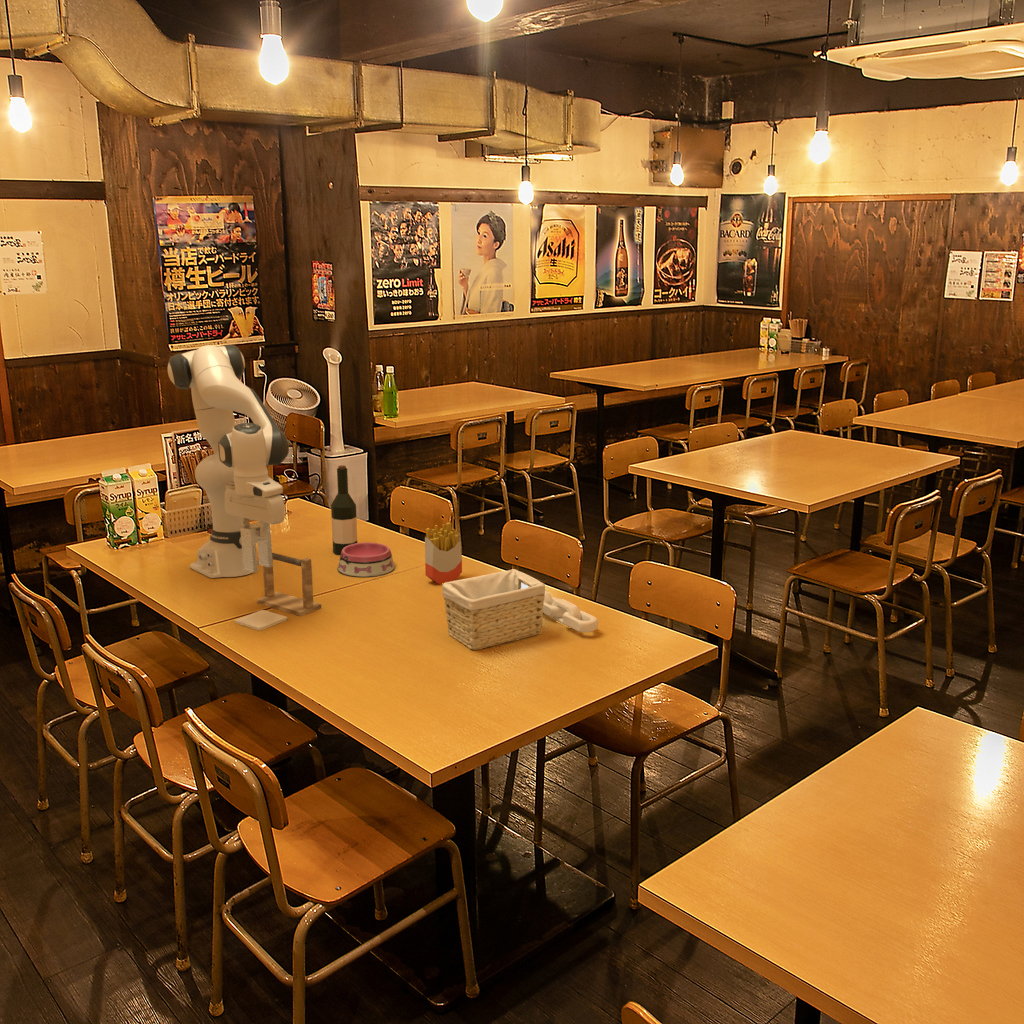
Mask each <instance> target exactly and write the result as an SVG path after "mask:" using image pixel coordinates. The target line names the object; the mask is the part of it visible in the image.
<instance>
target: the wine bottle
mask: <svg viewBox="0 0 1024 1024" xmlns="http://www.w3.org/2000/svg"><path fill="white" fill-rule="evenodd" d="M337 467H338V468H336V473H337V474H336V475H337V476H336V477H337V478H336V479H337V494H336V495H335V498H334V499H333V501H332V502H331V505H330V512H331V514H330V515H331V533H332V534H331V535H332V536H331V537H332V552H333V554H334V555H335V556H340V555H341V552H342V549H343V548H344V547H346V546H348V545H351V544H355V543H358V527H357V526H358V525H357V521H358V520H357V504H356V503H355V501H354V500H353V498H352V497H351V495H350V493H349V482H348V481H349V479H348V468H347V466H346V465H338V466H337Z"/></svg>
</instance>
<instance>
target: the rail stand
mask: <svg viewBox="0 0 1024 1024" xmlns="http://www.w3.org/2000/svg"><path fill="white" fill-rule="evenodd" d="M272 558H273V561H274V560H275V561H277V562H278V561H279V562H282V563H287V564H290V565H294V566H298V567H300V568H301V584H302V585H301V587H302V598H300V597H298V596H294V595H291V594H290V595H289V594H286V593H284V592H280V591H276V592H275V577H274V565H273V566H272V567H265V566H262V572H263V574H262V575H263V588H264V596H262V597H259V598H257V599H256V604H259V605H261V606H266V607H269V608H272V609H276V610H279V611H282V612H285V613H288V614H292V615H296V616H298V617H302V616H305V615H308V614H310V613H313V612H315V611H318V610H321V609H322V603H318V602H316V601H315V602H314V591H313V590H314V586H313V569H312V567H313V566H312V559H311V558H308V557H306V558H302V559H300V558H295V557H290V556H287V555H284V554H279V553H276V552H272Z"/></svg>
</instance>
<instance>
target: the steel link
mask: <svg viewBox="0 0 1024 1024" xmlns="http://www.w3.org/2000/svg"><path fill="white" fill-rule="evenodd" d="M260 528H261V525H260V521H257V522H255V523H250V525H247V526H244V527H240V531H241V543H242V555H243V567H244V570H245V571H249V572H253V573H257V572H258V565H259V566H262V567H263V566H265V567H272V566H273V567H274V559H273V558H272V553H273V546H272V545H273V544H272V533H271V524H269V526H268V528H267V536H266V537H259V536H258V530H260ZM256 546H257V547H256ZM257 553H258V554H257ZM257 555H258V558H257ZM257 560H258V565H257ZM253 573H252V574H253Z"/></svg>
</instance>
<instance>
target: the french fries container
mask: <svg viewBox="0 0 1024 1024" xmlns="http://www.w3.org/2000/svg"><path fill="white" fill-rule="evenodd" d="M441 526H442V527H441V528H439V526H438V525H437V524H435V525H434V528H432V529H431V528H429V527H427V528H425V536H424V555H425V556H424V558H425V559H424V561H425V564H424V565H425V567H424V569H425V571H424V572H425V576H426V577H427V578H428V579H429V580H431V581H433V582H434V583H436V584H438V585H440V584H441V585H443V584H442V583H445V582H450V581H454V580H455V581H456V580H458V578H459V577H460V575H461V574H462V573H463V556H462V543H461V537H460V534H459V532H458V529H457V530H456V529H455V528H452V523H451V521H450V522H446V523H442V524H441Z"/></svg>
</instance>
